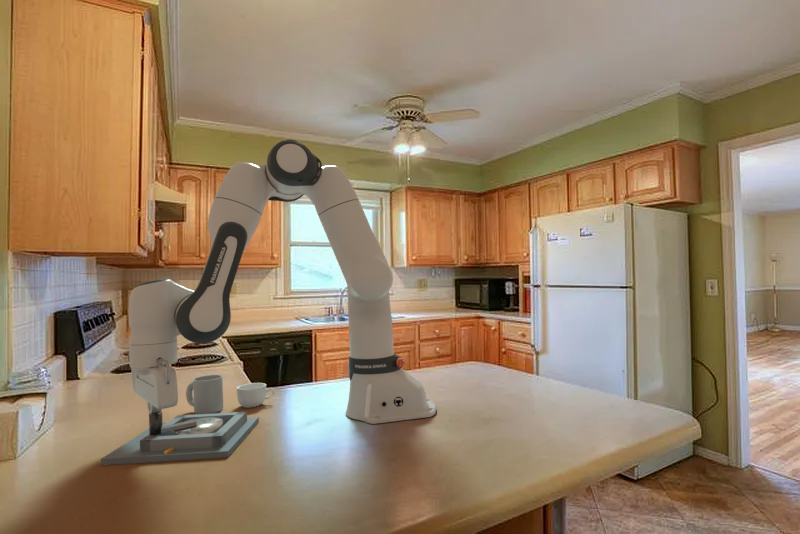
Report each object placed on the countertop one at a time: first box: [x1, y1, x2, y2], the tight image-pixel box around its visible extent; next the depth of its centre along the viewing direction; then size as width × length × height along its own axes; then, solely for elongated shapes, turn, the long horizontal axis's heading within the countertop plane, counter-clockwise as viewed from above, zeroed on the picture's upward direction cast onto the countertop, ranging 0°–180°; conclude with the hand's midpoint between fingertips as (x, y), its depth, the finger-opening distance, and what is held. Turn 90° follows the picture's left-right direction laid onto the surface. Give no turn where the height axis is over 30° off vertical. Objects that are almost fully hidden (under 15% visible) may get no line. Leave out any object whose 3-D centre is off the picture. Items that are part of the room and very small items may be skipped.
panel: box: [100, 411, 260, 466], centre depth 94 cm, size 24×21×3 cm
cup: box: [185, 374, 224, 415], centre depth 117 cm, size 7×10×9 cm
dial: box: [148, 411, 223, 435], centre depth 93 cm, size 14×10×6 cm
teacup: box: [236, 382, 275, 409], centre depth 120 cm, size 10×8×5 cm
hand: (155, 421), depth 91 cm, fingers closed
